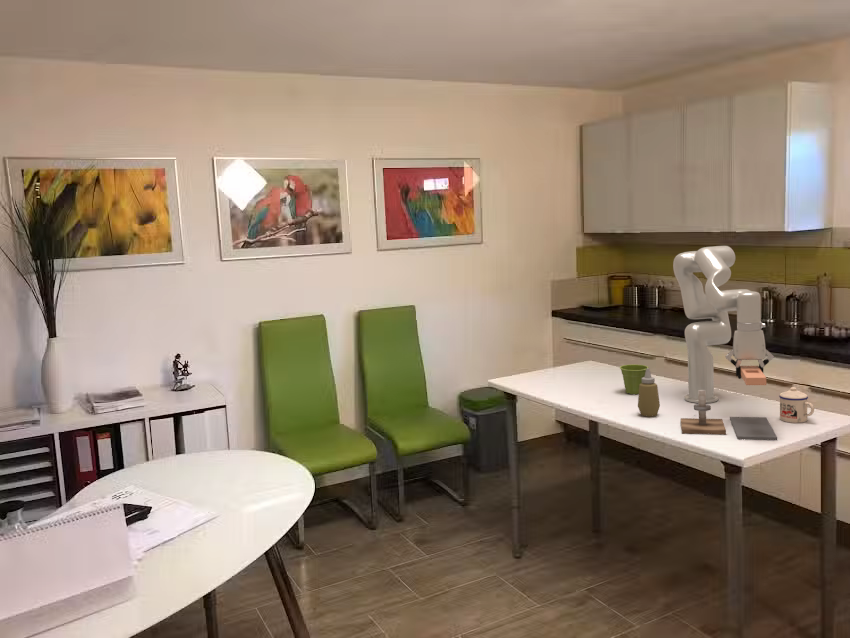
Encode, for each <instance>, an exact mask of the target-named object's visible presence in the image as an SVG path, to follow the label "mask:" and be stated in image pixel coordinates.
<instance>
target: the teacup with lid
mask: <svg viewBox="0 0 850 638" xmlns="http://www.w3.org/2000/svg"><path fill="white" fill-rule="evenodd" d="M778 397H779V420H781V422H782V421H783V422H786V423H791V424H794V423H795V424H798V423H800V424H801V423H806V422H807V421H808V417H811V416H812V415H813V414H814V412H815V407H814V404H813V403H811V402H808V399H809V397H808V394H806V393H804V392H802V391H800V390H798V389H797V387H796V386H795V387H794V386H792V387H790V388H789V390H786V391H783V392H781V393H780V394H779V395H778ZM808 406H809V408H810V412H809V413H808Z"/></svg>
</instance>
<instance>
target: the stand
mask: <svg viewBox="0 0 850 638" xmlns="http://www.w3.org/2000/svg"><path fill="white" fill-rule="evenodd" d="M693 410H694V411H697V412H698V418H693V417H691V418H688V417H687V418H686V417H685V418H684V417H680V427H681V434H684V435H686V434H687V435H723V436H725V435H727V429H726V426H725V423H724V420H723V418H707V412H709V411H711V410H712V407H711V405H710V404H708V403H706V391H705V390H698V403H695V404H694V405H693Z"/></svg>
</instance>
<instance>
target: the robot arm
mask: <svg viewBox="0 0 850 638" xmlns="http://www.w3.org/2000/svg"><path fill="white" fill-rule="evenodd" d="M735 261H736V254H735V252H734V250H733V249H732V247H730V246H729V245H716V246H706V247H705V246H704V247H701V248H699V249H698V250H692V251H684V252H681V253H678V254H677V255H675V257H674V258H673V263H672V264H673V267H672V268H673V273H674V277H675V278H676V280H677V282H678V286H679V288H680V294H681V299H682V300H681V301H682V304H683V310H684V314H685V316H686V318H688V320H705V319H706V320H705V321H698V322H692V323H690V324H688V325H687V326H686V327H685V329H684V338H685V343H686V348H687V349H686V350H687V375H688V376H687V378H688V379H687V380H688V381H687V382H688V394H686V395H685V396H684V400H685V401H686V402H689V403H694V404H698V390H705V391H706V404H711V403H715V402H717V401H719V396H718V395H715V389H714V388H715V387H714V385H715V381H714V375H715V374H714V355H713V353H712V351H711V350H710V349H709V348H708V346H714V345H715V346H717V345H725V344H728V343H729V342H730V341H731V338H732V327H731V324H730V319H729V313H728V312H736V330H734V333H733V340H732V341H733V342H732V349H731V351H729V352H728V353H727V354H726V355H725V359H726V360H728V361H729V362H730V364H732V365H733V366H735V377H737V378H738V379H739V380H741V379H742V377H741V367H740V366H741V363H742V361H748V360H749V361H757V362H758V365H757V366H758V367H759V368H760V370H761V371H762V372H763V373H764V368H765V366H766V365H767V364H769V362H770V361H772V360H773V359H774V357H775V356H774V355H773V354H772V353H771V352H770V351H769V350H768V349H766V340H765V334H764V330H762V328H766V327H767V326H766V323H763V322H762V319H761V318H762V313H761V311H762V310H761V309H762V305H761V298H762V296H761V294H760V293H759V292H758V291H752V290H750V289H747V288H745V289H744V288H739V289H726V290H720V289H719V287H721V286H723V285H725V284H726V283H727V282H728V281H729V280H730V278H731V275H732V271H731V267H733V265H734V264H735ZM694 273H702V274H703V275H704V276H705V278H706V279H707V280H706V283H705V285H704V284H703V283H702V281H701V280H700V279H699V278H698V277H697V276H696V275H695V274H694ZM703 285H704V286H705V287H703ZM707 319H711V320H710V321H709V320H707ZM766 356H767V357H766ZM732 357H734V359H733V358H732Z"/></svg>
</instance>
